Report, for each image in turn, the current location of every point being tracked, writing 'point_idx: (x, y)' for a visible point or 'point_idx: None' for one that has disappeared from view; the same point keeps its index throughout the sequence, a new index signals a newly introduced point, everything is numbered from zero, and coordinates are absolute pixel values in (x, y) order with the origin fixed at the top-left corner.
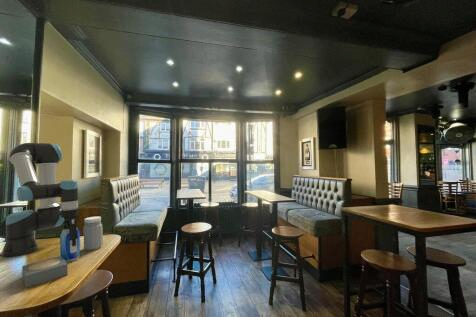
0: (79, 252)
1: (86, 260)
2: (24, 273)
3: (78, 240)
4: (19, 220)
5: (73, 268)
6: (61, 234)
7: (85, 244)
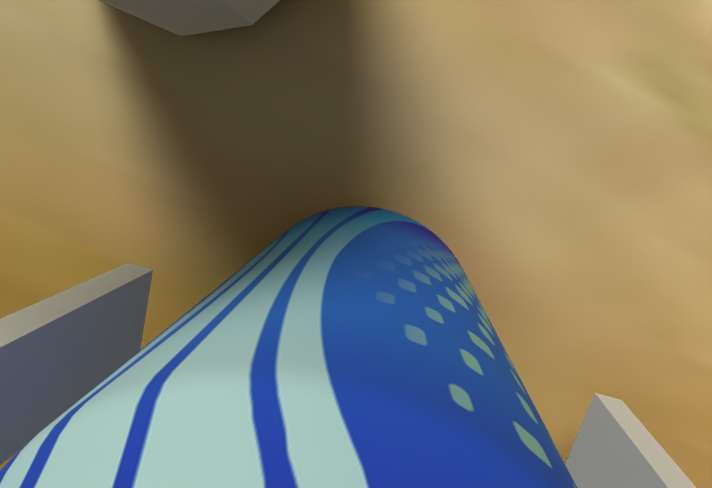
0: (451, 257)
1: (616, 238)
2: None
3: (519, 377)
4: None
5: (693, 434)
6: None
7: (177, 9)
